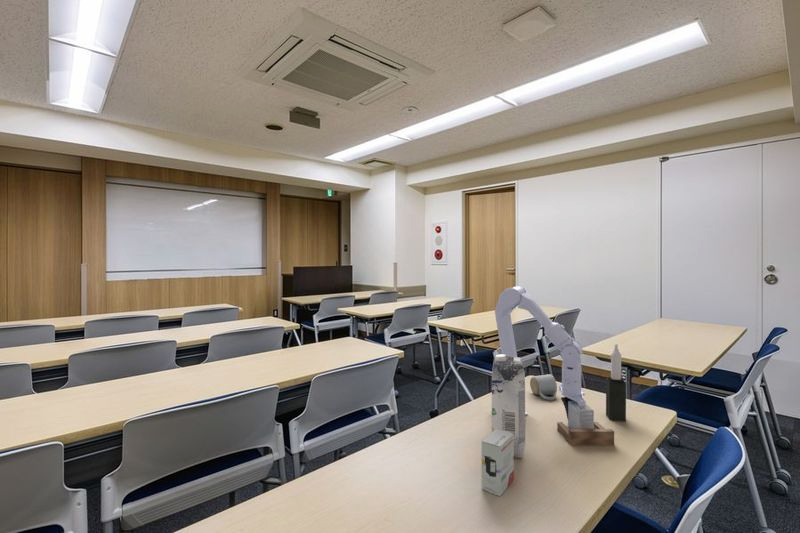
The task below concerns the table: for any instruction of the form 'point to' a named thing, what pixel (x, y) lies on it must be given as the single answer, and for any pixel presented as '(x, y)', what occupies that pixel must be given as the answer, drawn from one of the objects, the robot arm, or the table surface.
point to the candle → (616, 390)
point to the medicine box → (580, 416)
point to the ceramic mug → (544, 386)
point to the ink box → (497, 461)
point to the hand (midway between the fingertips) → (571, 420)
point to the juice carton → (509, 399)
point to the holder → (587, 435)
